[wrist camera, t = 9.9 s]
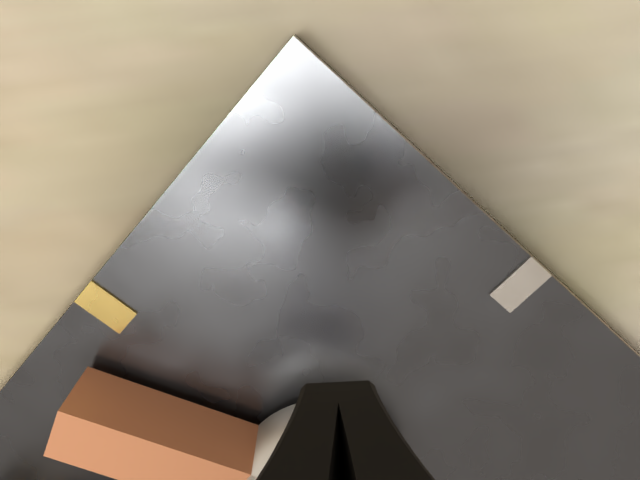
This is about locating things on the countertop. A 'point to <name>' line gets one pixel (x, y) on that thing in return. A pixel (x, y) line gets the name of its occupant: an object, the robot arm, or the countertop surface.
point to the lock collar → (156, 434)
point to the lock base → (340, 301)
